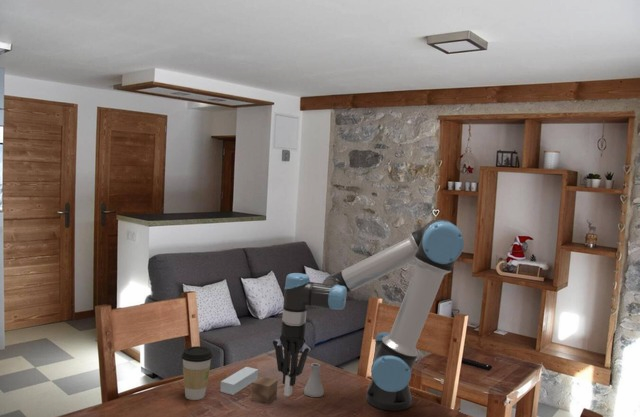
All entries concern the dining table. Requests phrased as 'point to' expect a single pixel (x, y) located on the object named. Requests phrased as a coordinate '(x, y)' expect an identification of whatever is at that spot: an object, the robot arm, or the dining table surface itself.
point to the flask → (314, 383)
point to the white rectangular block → (239, 380)
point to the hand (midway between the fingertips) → (287, 394)
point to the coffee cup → (196, 371)
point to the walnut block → (264, 390)
